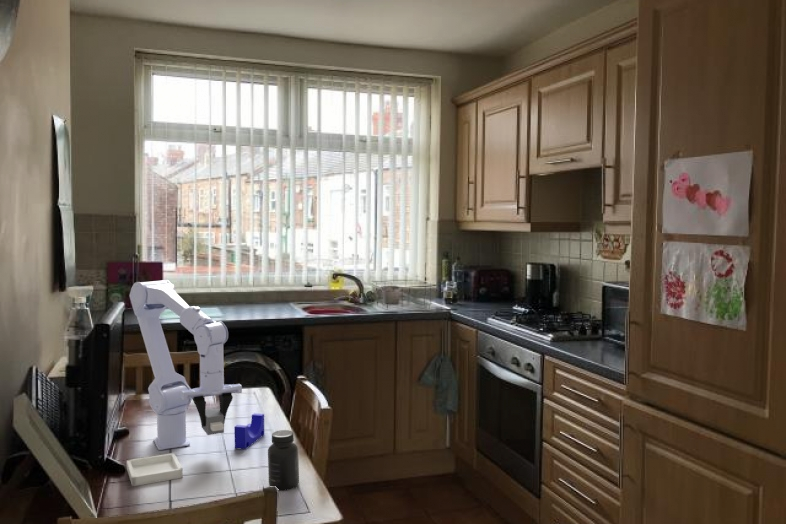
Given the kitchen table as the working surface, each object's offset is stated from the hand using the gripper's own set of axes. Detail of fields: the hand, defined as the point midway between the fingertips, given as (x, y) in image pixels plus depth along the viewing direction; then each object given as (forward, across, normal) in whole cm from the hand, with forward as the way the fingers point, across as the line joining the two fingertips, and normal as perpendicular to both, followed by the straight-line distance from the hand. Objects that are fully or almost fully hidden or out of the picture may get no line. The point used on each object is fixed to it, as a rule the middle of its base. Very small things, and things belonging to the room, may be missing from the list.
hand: (212, 424), depth 167 cm
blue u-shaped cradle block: (+9, +11, +8) cm, 16 cm away
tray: (+8, -15, -4) cm, 18 cm away
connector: (+2, 0, -1) cm, 2 cm away
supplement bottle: (+8, +10, -26) cm, 29 cm away
